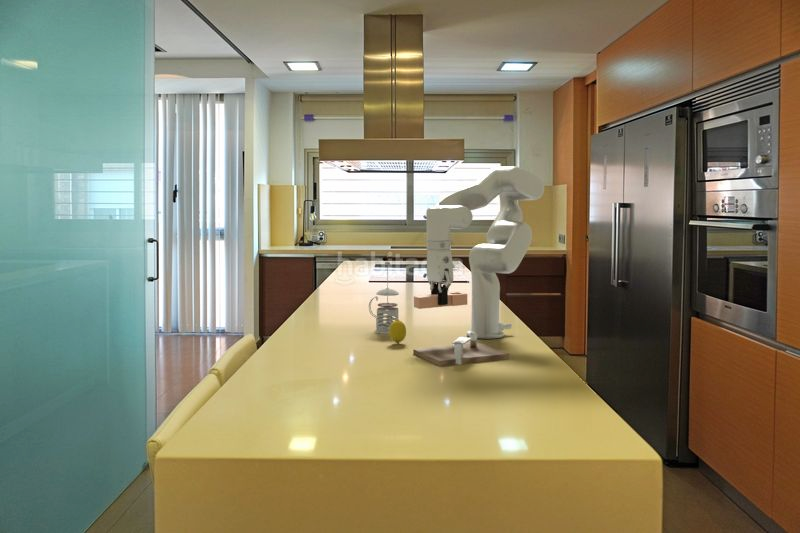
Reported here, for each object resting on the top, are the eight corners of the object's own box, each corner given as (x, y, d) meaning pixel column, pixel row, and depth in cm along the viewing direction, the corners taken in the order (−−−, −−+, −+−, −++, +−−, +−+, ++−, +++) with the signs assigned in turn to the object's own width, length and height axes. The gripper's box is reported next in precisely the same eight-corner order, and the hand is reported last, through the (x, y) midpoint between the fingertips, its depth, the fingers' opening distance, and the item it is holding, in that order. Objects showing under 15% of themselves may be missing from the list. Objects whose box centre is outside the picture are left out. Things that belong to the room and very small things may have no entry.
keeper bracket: (459, 358, 202) (459, 336, 201) (470, 359, 201) (471, 337, 200) (451, 364, 194) (451, 342, 194) (463, 365, 193) (463, 342, 193)
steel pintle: (474, 346, 211) (474, 331, 211) (477, 347, 209) (478, 333, 209) (468, 346, 210) (469, 332, 210) (472, 348, 209) (472, 333, 208)
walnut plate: (479, 347, 217) (479, 342, 217) (509, 358, 201) (509, 353, 201) (413, 354, 207) (413, 349, 207) (439, 366, 192) (439, 360, 192)
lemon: (404, 345, 219) (404, 321, 219) (387, 345, 220) (387, 320, 220) (407, 342, 225) (407, 318, 224) (391, 341, 226) (391, 317, 225)
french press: (398, 334, 239) (398, 262, 236) (365, 333, 241) (365, 262, 239) (403, 329, 248) (403, 260, 246) (372, 328, 251) (372, 260, 248)
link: (459, 302, 224) (459, 291, 223) (467, 304, 219) (467, 293, 218) (412, 306, 217) (412, 295, 217) (420, 309, 212) (420, 298, 212)
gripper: (462, 247, 210) (462, 306, 212) (437, 244, 225) (437, 299, 227) (440, 248, 207) (441, 308, 209) (416, 245, 222) (417, 301, 224)
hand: (439, 303), depth 218 cm, fingers closed on link, 4 cm apart
